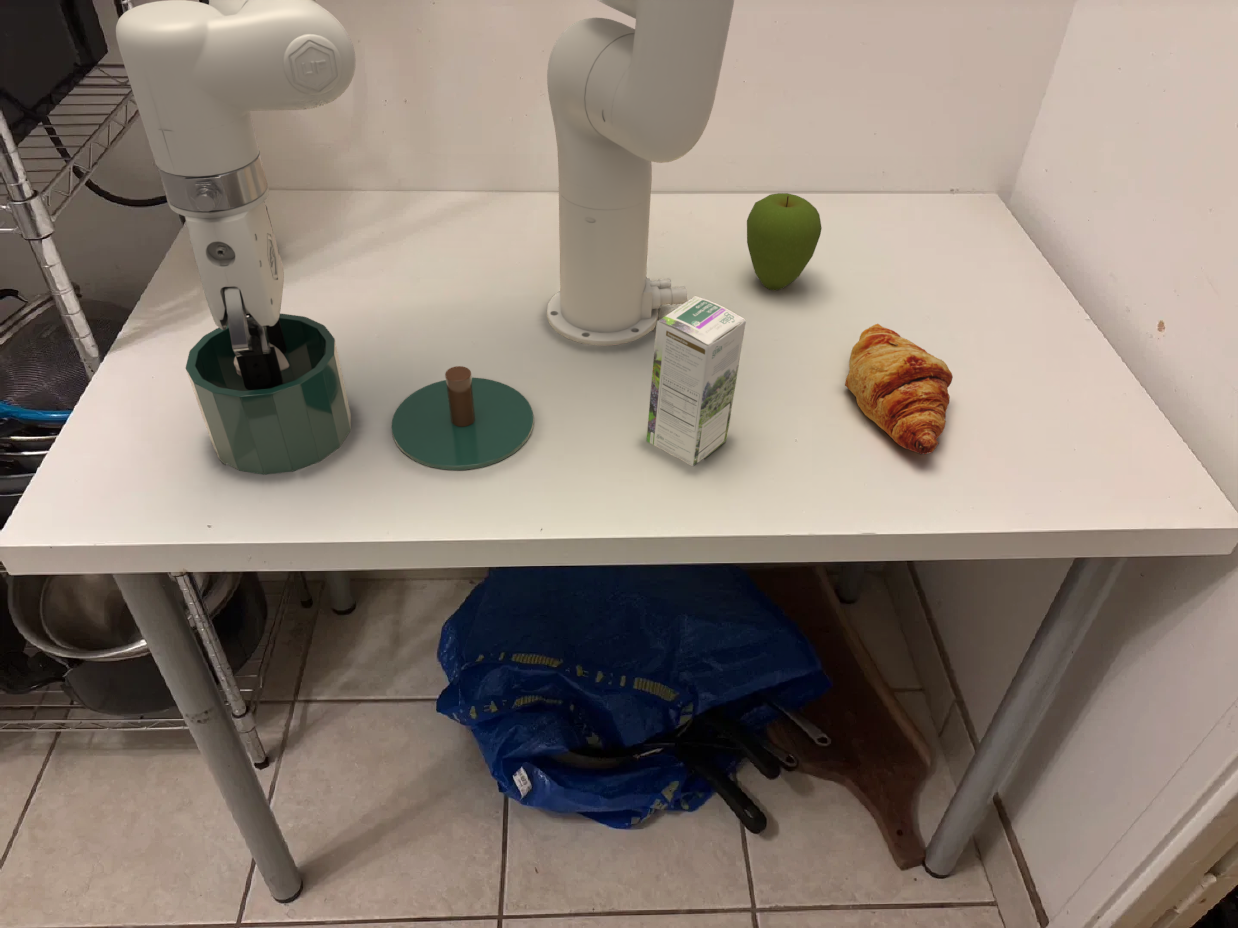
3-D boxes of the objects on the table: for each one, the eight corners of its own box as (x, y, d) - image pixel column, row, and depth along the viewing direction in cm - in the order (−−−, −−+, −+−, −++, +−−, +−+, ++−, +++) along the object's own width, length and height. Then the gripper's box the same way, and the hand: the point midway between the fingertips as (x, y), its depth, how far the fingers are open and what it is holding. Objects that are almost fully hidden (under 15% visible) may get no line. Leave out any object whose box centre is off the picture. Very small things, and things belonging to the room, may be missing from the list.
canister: (352, 387, 95) (335, 308, 89) (351, 469, 86) (332, 387, 79) (222, 400, 93) (196, 319, 86) (207, 485, 84) (176, 402, 77)
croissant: (837, 367, 106) (815, 314, 101) (924, 331, 103) (905, 275, 98) (889, 493, 90) (865, 437, 85) (993, 454, 87) (974, 394, 82)
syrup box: (680, 417, 93) (692, 291, 83) (729, 442, 90) (747, 315, 80) (645, 445, 90) (653, 317, 80) (694, 472, 87) (709, 343, 77)
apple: (823, 294, 111) (842, 205, 103) (763, 309, 108) (778, 218, 100) (784, 260, 117) (798, 173, 109) (726, 273, 114) (736, 185, 106)
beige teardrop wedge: (255, 355, 86) (249, 332, 84) (304, 365, 85) (298, 342, 84) (229, 381, 83) (221, 358, 81) (278, 392, 82) (272, 369, 80)
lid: (524, 379, 97) (521, 326, 92) (542, 466, 87) (541, 410, 82) (391, 392, 94) (382, 338, 90) (394, 483, 85) (384, 427, 80)
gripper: (256, 227, 67) (306, 424, 79) (272, 133, 79) (313, 316, 91) (144, 234, 65) (213, 433, 78) (178, 137, 78) (233, 322, 90)
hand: (266, 368), depth 84 cm, fingers closed on beige teardrop wedge, 4 cm apart
